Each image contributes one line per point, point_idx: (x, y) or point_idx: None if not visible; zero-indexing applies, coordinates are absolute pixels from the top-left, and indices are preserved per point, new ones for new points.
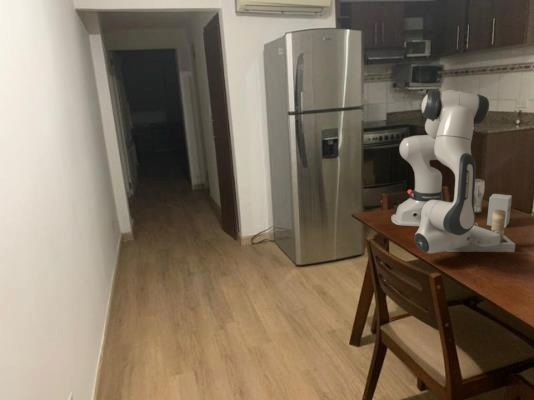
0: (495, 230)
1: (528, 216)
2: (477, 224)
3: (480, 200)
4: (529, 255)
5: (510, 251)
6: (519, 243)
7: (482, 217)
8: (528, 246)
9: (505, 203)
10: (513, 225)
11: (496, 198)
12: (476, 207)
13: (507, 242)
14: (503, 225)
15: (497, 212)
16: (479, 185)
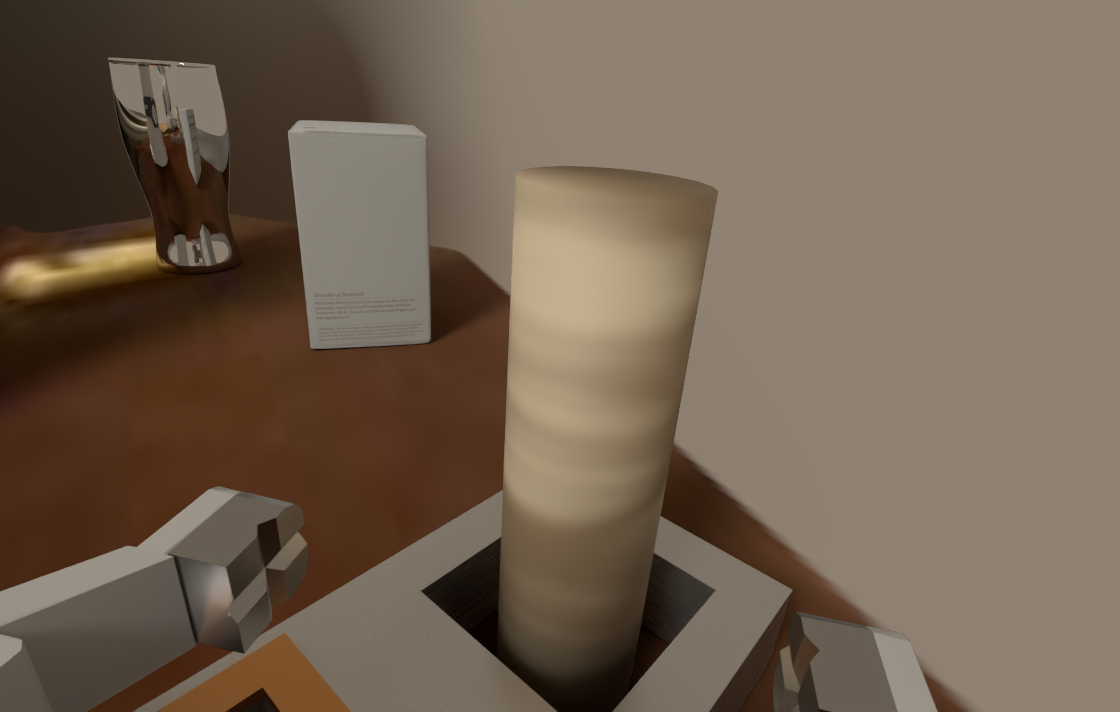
0: (860, 686)
1: (459, 253)
2: (296, 526)
3: (220, 194)
4: None
5: (752, 687)
6: None
7: (260, 296)
8: (717, 488)
9: (409, 171)
10: (450, 314)
11: (341, 135)
12: (207, 240)
13: (688, 582)
14: (679, 405)
15: (639, 197)
16: (189, 89)
